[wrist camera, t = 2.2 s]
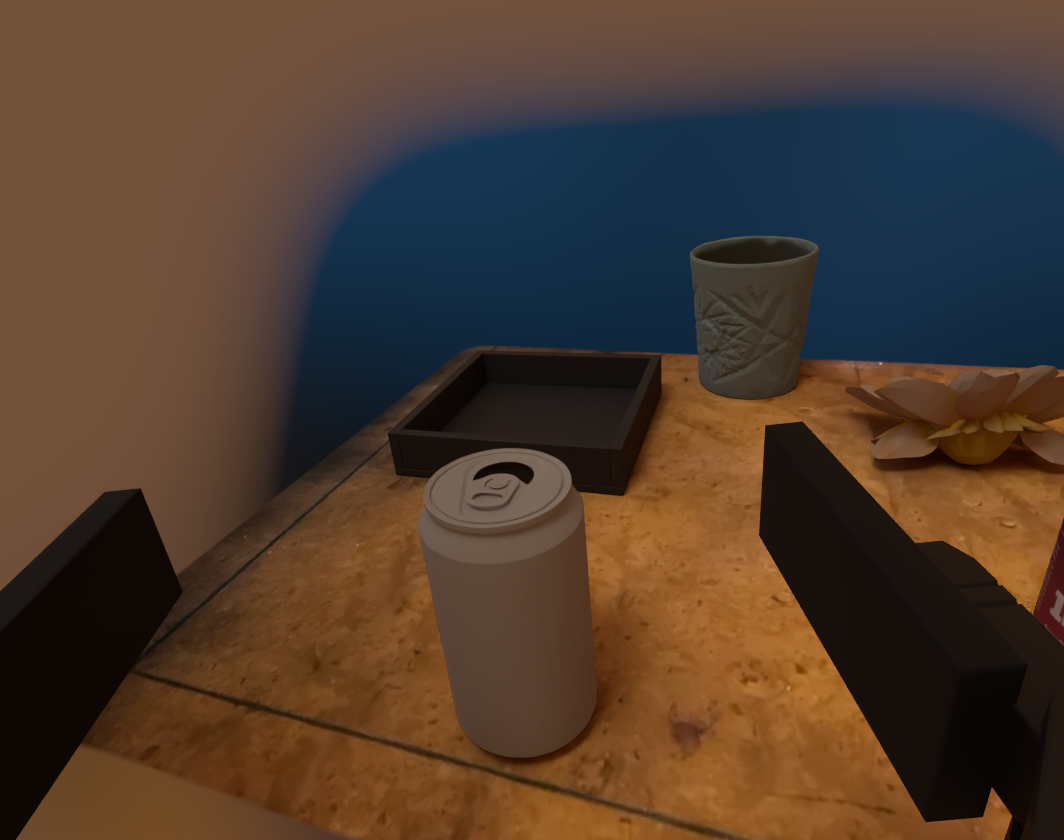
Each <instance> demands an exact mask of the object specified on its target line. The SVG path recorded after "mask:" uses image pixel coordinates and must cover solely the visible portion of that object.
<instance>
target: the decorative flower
mask: <svg viewBox="0 0 1064 840" xmlns="http://www.w3.org/2000/svg"><path fill="white" fill-rule="evenodd" d="M1058 374H1059V372H1058V371H1057V369H1056V368H1055V367H1052V366H1044V365H1041V366H1037V367H1032V368H1029V369H1026V370H1023V371H1021V372H1018V373H1016V372H1015V371H1005V370H994V369H990V370H986V371H967V372H964V373H961V374H960V375H958V376H957V377H955V378H954V379H953V380H952V381H951V382H950V383H939V382H933V381H928V380H922V379H916V378H912V377H908V376H906V377H891V378H886V379H885V381H884V383H885V386H884V387H879V386H874V385H868V384H863V385H859V386H860V387H861V388H862V389H860V388H855V387H846V393H848V394H850V395H852V396H854V397H855V398H857V399H859V400H861V401H862V402H864V403H865V404H867V405H869V406H871V407H873V408H875V409H878V410H880V411H883V412H886V413H889V414H892V415H896V416H900V417H904V418H906V419H903V420H905V421H907V422H905V423H902V424H900V425H898V426H896V427H893V428H891V429H889V430H888V431H886V432H884V433H883V434H881V435H880V436H878V437H876V438H874V439H873V440H871V442H872V443H874V444H875V446H874V447H873V449H872V452H871V454H872V455H873V456H874V457H876V458H878V459H893V458H907V457H923V456H925V455H927V454H929V453H931V452H933V451H934V450H935V449H936V448H937V447H939V448H940V449H941V450H942V451H943V452H944V453H945V454H946V455H947V456H949V457H950V458H951V459H953V460H954V461H956V462H957V463H963V464H969V465H978V464H985V463H990V462H991V461H993V460H994V459H996V458H997V457H999V456H1000V455H1001V454H1002V453H1003V452H1004V451H1005V450H1006V449H1007V448H1008V447H1009V446H1010V445H1011V444H1014V445H1018V446H1021V447H1025V448H1028V449H1031V450H1033V451H1034V452H1035V453H1036V454H1038V455H1039V456H1041V457H1043V458H1044V459H1046V460H1048V461H1049V462H1052V463H1056V464H1061V465H1064V435H1062V434H1060V433H1059V432H1057V431H1055V430H1053V429H1054V428H1052V427H1049V426H1047V425H1045V424H1043V423H1045V422H1048V421H1052V420H1055V419H1059V418H1062V417H1064V376H1063V377H1056V376H1057V375H1058ZM1055 377H1056V378H1055Z"/></svg>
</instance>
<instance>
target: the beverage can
mask: <svg viewBox="0 0 1064 840" xmlns="http://www.w3.org/2000/svg"><path fill="white" fill-rule="evenodd" d="M423 501H424V508H423V510H422V512H421V515H420V518H419V524H418V526H419V533H420V538H421V543H422V548H423V553H424V558H425V563H426V568H427V573H428V578H429V583H430V587H431V592H432V597H433V602H434V607H435V612H436V617H437V622H438V627H439V632H440V637H441V641H442V646H443V651H444V656H445V661H446V666H447V671H448V676H449V681H450V686H451V691H452V696H453V700H454V705H455V710H456V715H457V718H458V721H459V723H460V725H461V727H462V729H463V731H464V732H465V733H466V735H467V736H468V737H469V738H470V739H471V740H472V741H473V742H474V743H475V744H477V745H478V746H479V747H481V748H483V749H484V750H486V751H488V752H491V753H493V754H496V755H500V756H504V757H511V758H529V757H536V756H540V755H544V754H547V753H550V752H553V751H555V750H557V749H559V748H561V747H563V746H565V745H566V744H568V743H569V742H571V741H572V740H573V739H574V738H575V737H577V736H578V735H579V734H580V733H581V732H582V730H583V729H584V728H585V727H586V725H587V724H588V722H589V720H590V718H591V716H592V714H593V712H594V709H595V705H596V699H597V688H596V674H595V660H594V646H593V632H592V618H591V604H590V590H589V576H588V562H587V548H586V534H585V521H584V507H583V501H582V498H581V496H580V494H579V493H578V492H577V490H576V489H575V488H574V487H573V485H572V480H571V474H570V471H569V469H568V468H567V467H566V465H565V464H564V463H562V462H561V461H560V460H559V459H557V458H555V457H553V456H551V455H548V454H546V453H543V452H540V451H535V450H530V449H520V448H503V449H493V450H487V451H482V452H477V453H474V454H470V455H467V456H464V457H462V458H459V459H457V460H455V461H453V462H451V463H449V464H447V465H445V466H444V467H442V468H441V469H440V470H438V471H437V472H436V473H435V474H434V475H433V476H432V477H431V478H430V479H429V480H428V482H427V484H426V485H425V488H424V491H423Z"/></svg>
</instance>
